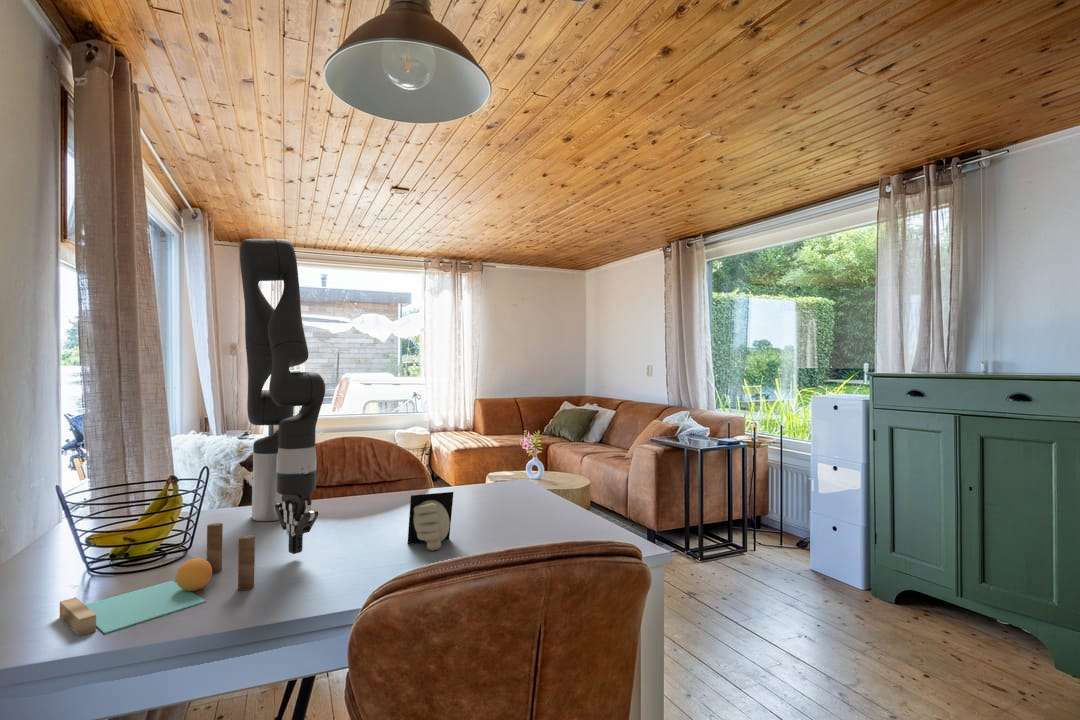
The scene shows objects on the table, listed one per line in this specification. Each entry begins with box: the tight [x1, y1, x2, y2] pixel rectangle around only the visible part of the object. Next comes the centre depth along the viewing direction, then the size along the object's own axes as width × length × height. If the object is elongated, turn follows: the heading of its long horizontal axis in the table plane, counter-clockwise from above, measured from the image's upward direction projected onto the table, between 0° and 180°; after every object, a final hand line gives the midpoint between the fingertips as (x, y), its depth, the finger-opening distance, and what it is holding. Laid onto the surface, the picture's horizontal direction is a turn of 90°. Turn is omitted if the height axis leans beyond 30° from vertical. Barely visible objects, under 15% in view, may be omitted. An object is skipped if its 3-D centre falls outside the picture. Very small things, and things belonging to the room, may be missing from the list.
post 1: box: [206, 522, 224, 575], centre depth 107 cm, size 3×3×9 cm
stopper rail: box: [59, 597, 97, 637], centre depth 85 cm, size 10×2×2 cm, turn 54°
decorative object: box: [407, 491, 455, 551], centre depth 123 cm, size 12×10×10 cm
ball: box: [175, 557, 213, 592], centre depth 98 cm, size 6×6×6 cm
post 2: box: [237, 535, 256, 592], centre depth 100 cm, size 3×3×9 cm
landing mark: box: [84, 580, 207, 635], centre depth 92 cm, size 14×14×1 cm
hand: (295, 552), depth 114 cm, fingers closed
